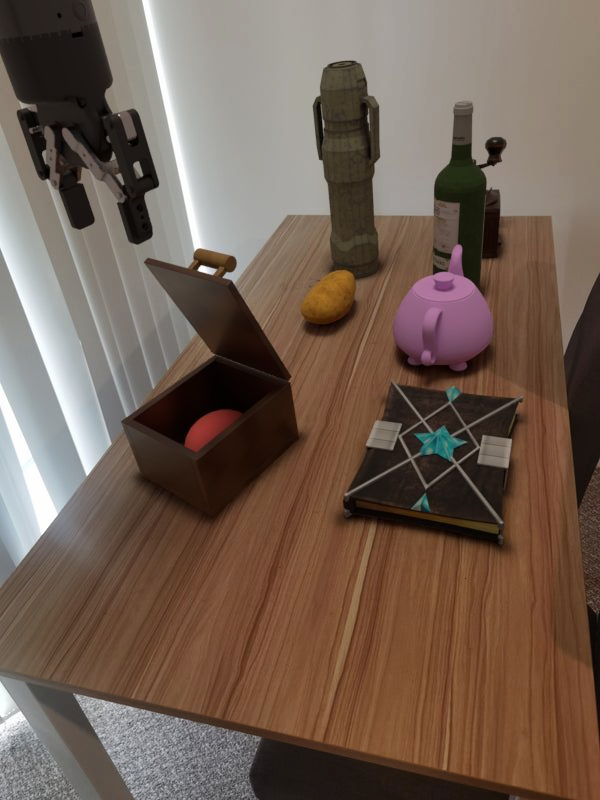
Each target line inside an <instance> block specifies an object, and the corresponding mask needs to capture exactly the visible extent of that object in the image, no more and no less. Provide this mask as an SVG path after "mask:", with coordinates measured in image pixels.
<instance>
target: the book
mask: <svg viewBox="0 0 600 800" xmlns="http://www.w3.org/2000/svg"><path fill="white" fill-rule="evenodd" d="M523 402H524V396H523V395H520V396H518V397H506V396H496V395H495V396H494V395H485V394H477V393H475V394H474V393H467V392H461V391H460V389H459V388H457V387H456V386H455V385H452V386H451V387H449V388H447V389H446V390H444V389H436V388H435V389H434V388H427V387H422V386H415V385H410V384H403V383H397V382H395V380H394V379H390V385H389V386H388V392H387V396H386V401H385V404H384V410H383V414H382V417H381V419H380V420H378V419H376V420H375V421H374V423H373V426H372V429H371V431H370V433H369V436H368V439H367V441H366V443H365V455H364V458H363V460H362V463H361V464H360V466H359V468H358V470H357V471H356V473H355V475H354V478H353V479H352V481H351V483H350V485H349V487H348V489H347V491H346V492H345V493H344V494H343V499H342V506H343V509H344V510H343V514H344V517H345V518H346V519H347V518H349V517H350V516H352V515H354V516H361V517H366V518H367V517H368V518H372V519H373V518H374V519H380V520H387V521H392V522H393V521H394V522H399V523H404V524H409V525H410V524H411V525H415V526H419V527H425V528H431V529H435V530H440V531H445V532H450V533H451V532H452V533H457V534H460V535H466V536H470V537H475V538H480V539H484V540H489V541H493V542H497V543H498V544H499V546H501V545H503V544H504V539H505V538H504V536H503V535H502V534H501V530H503V529H504V524H505V522H504V521H503V518H504V516H503V515H504V512H503V511H504V492H505V491H506V488H507V483H508V482H507V481H508V475H509V473H508V472H509V466H510V461H511V460H510V459H511V452H512V444H513V439H512V438H511V437H512V434H513V432H514V428H515V425H516V422H517V420H518V419H519V418H520V413H519V412H518V411H517V409H518V406H519V403H520V404H523Z"/></svg>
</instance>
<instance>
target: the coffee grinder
mask: <svg viewBox="0 0 600 800" xmlns="http://www.w3.org/2000/svg"><path fill="white" fill-rule="evenodd" d="M507 145H508V142H507V140H506V138H504V137H503V136H491V137H490V138H488V139H486V141H485V143H484V148H485V149H484V150H485V151H486V152H487V154H488V156H487V159H486V162H485V163H480V164H477V159H476V158H475V159H474V158H472V159H473V162H474V163H475V164H476V165H477V166H478V167H479V168H480V169H481V170H482V169H485V168H487V167H490V166H492V167H495V166H496V165H498V164H499V163H502V162H503V159H502V154H503V153H504V150H505V149H506V148H507ZM501 202H502V201H501V192H500V189H499V188H498V189H497V188H495V189H493V186H491V187H490V188H489V189H487V188H486V201H485V216H484V230H483V245H482V259H488V258H489V259H491V258H498V257H499V249H500V247H501V246H502V238H500V222H501V209H502V207H501Z"/></svg>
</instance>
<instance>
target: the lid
mask: <svg viewBox="0 0 600 800" xmlns="http://www.w3.org/2000/svg"><path fill="white" fill-rule="evenodd" d="M192 260H193V261H192V262H191V263H190V264H189V265H188V266H187V267H184V266H182V265H177V264H175V263H174V264H173V263H169V262H165V261H162V260H159V259H155V258H151V257H146V259H145V260H144V261H143V264H144V265H145V267H146V268H147V269H148V271H149V272H150V273H151V274H152V275H153V277H154V279H155V280H156V281H157V282H158V284H159V285H160V286H161V288H162V289H163V290H164V291H165V292H166V294H167V296H168V297H169V298H170V299H171V301H172V302H173V303H174V305H175V306H176V307H177V308H178V310H179V311H180V312H181V314H182V315H183V316H184V318H185V319H186V321H187V322H188V323H189V325H190V326H191V327H192V328H193V330H194V331H195V332H196V334H197V335H198V336H199V338H200V339H201V340H202V341H203V343H204V344H205V345H206V347H207V348H208V349H209V350H210V352H211V353H212V354H213V355H218V356H220V357H223V358H226V359H229V360H231V361H234V362H237V363H239V364H242V365H245V366H247V367H250V368H253V369H255V370H258V371H261V372H264V373H266V374H269V375H272V376H274V377H277V378H280V379H282V380H285V381H288V382H290V380H291V378H292V375H291V374H290V372H289V370H288V369H287V367H286V365H285V363H284V362H283V361H282V359H281V357H280V356H279V354H278V352H277V351H276V349H275V348H274V346H273V344H272V343H271V341H270V339H269V338H268V336H267V334H266V333H265V332H264V329H263V328H262V327H261V325H260V323H259V322H258V320H257V319H256V317H255V315H254V313H253V312H252V310H251V309H250V307H249V306H248V304H247V303H246V301H245V300H244V299H245V298H244V297H243V296H242V294H241V293H240V290H239V289H238V288H237V286H236V285H235V283H234V281H233V280H232V279H229V278H225V275H226V274H227V273H229V274H232V273H233V272H234V271H235V270H236V269H237V266H238V261H237V258H236V256H234V255H231V254H225V253H222V252H219V251H214V250H209V249H206V248H201V247H199V248H196V249H195V251H194V252H193V256H192ZM200 267H206V268H210V269H214V270H216V271H215V272H214V273H213V274H210V273H207V272H203V271H199V269H200Z"/></svg>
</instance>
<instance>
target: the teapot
mask: <svg viewBox="0 0 600 800" xmlns="http://www.w3.org/2000/svg"><path fill="white" fill-rule="evenodd" d="M493 321H494V320H493V317H492V312H491V309H490V307H489V304H488V303H487V301H486V299H485V298H484V296H483V294H482V293H481V291H480V289H479V290H478V288H477V287H476V286H475V285H474V283H473V282H472V281H470V280H469V279H467V278H465V277H464V275H463V270H462V247H461V245H456V246H455V247H454V249H453V251H452V256H451V261H450V265H449V269H448V272H439V273H436V274H435V275H433V274H432V275H428V276H424V277H422V278H420V279H419V280H418V281H416V282H415V283H414V284H413V285H412V286H411V288H410V289H409V291H407V293H406V295H405V296H404V297H403V299H402V301H401V303H400V304H399V306H398V309H397V311H396V314H395V317H394V321H393V328H392V335H393V336H392V337H393V340H394V341H395V344H396V345H397V346H398V348H399V349H400V350H401V351H403V353H405V354H406V355H407V356H408V358H407V363H408V364H410V365H412V366H420V365H423V366H427V367H428V366H429V367H430V366H433V365H435V366H448V367H449V369H450V370H452V371H455V372H456V371H457V372H461V371H464V370H466V369H467V367H468V365H467V361H470V360H473V358H474V357H476V356H477V355H479V354H481V353H482V352H483V351H484V350H485V349H486V348H487V347H488V346H489V344H490V343H491V341H492V339H493V337H494V322H493Z"/></svg>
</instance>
